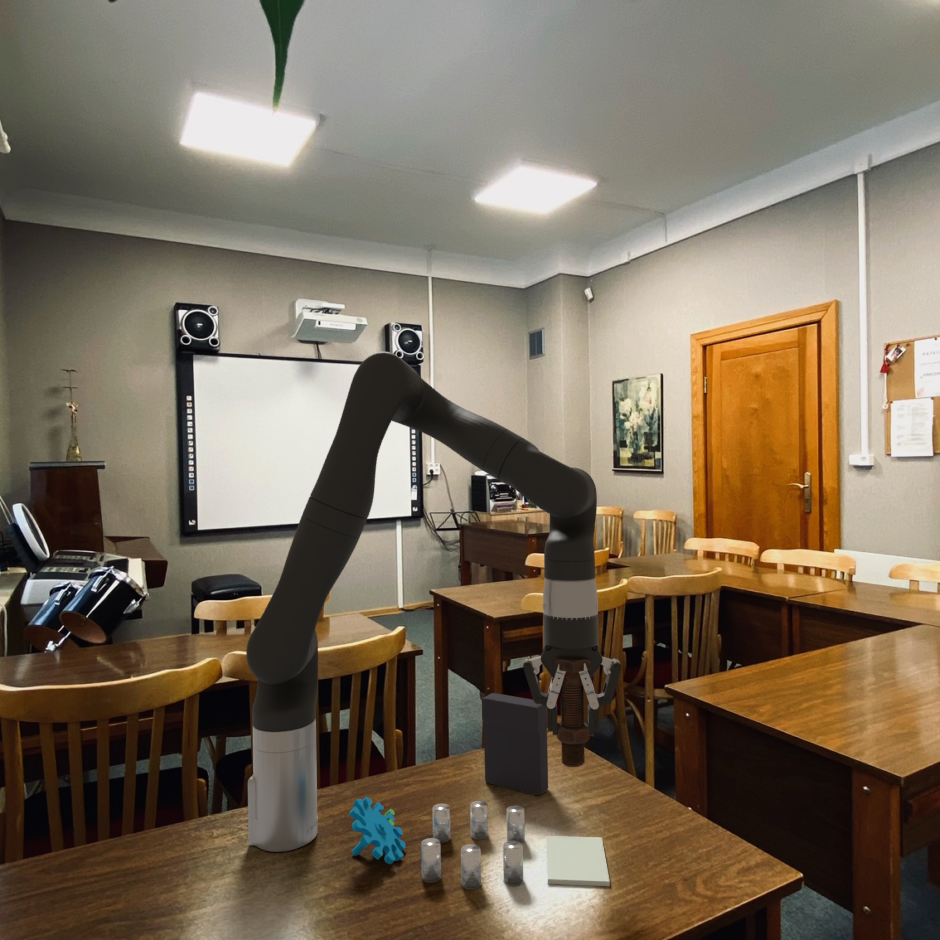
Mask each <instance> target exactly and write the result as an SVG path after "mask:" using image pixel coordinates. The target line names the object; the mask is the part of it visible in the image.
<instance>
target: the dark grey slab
mask: <svg viewBox="0 0 940 940" xmlns="http://www.w3.org/2000/svg"><path fill="white" fill-rule="evenodd" d="M481 720H482V722H483V733H484V735H483V737H484V738H483V740H484V743H483V744H484V745H483V747H484V748H483V749H484V781H485V783H487V784H491V785H494V786H497V787H502V788H505V789H510V790H514V791H518V792H522V793H525V794H530V795H533V794H534V796H537V795H538V796H537V797H541V796H542V795H543V794H544V793H545V792H546V791H548V789H549V763H548V762H549V761H548V759H549V758H548V757H549V756H548V755H549V753H548V751H549V750H548V728H547V708H546V706H544V705H542V704H536V703H535V702H534V700H533V699H532V698H531V699H530V698H525V697H519V696H515V695H514V696H512V695H509V694H503V693H502V694H501V693H496V692H492V693H490V694H488V695H486V696H484V697H483V698H481Z"/></svg>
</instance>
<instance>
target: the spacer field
mask: <svg viewBox="0 0 940 940" xmlns="http://www.w3.org/2000/svg"><path fill="white" fill-rule="evenodd" d="M488 808H489V807H488V803H487V802H486V801H483V800H474V801H472V802H471V803H470V804H469V819H470V820H469V821H470V823H469V824H470V837H471V838H472V839H473V840H476V841H477V840H478V841H479V840H485V839H487V838H488V837H489V825H488V824H489V822H488V821H489V820H488V819H489V817H488V816H489V813H488V811H489V810H488ZM525 826H526V825H525V808H524V807H523V806H520V805H510V806H508V807H506V841H505V842H504V843H503V844H502V855H503V856H502V858H503V859H502V860H503V866H502V867H503V868H502V869H503V882H504V884H506V885H507V886H511V887H517V886H520V885H522V884H523V883H524V857H523V856H524V851H523V850H524V849H523V848H524V846H523V844H525V842H526V837H525V835H526V834H525V833H526V832H525V831H526V830H525ZM450 840H451V807H450V805H449V804H447V803H437V804H434V805H433V806H432V837H430V838H429V837H428V838H425V839H423V840H422V841H421V842H420V855H421V856H420V857H421V858H420V859H421V861H420V863H421V880H422V881H423V882H425V883H428V884H429V883H430V884H432V883H437V882H438V881H440V880H441V879H442V867H441V866H442V862H441V861H442V858H441V856H442V855H441V852H442V851H441V844H443V843H446V842H449V841H450ZM481 855H482V852H481V847H480V845H478V844H473V843H469V844H464V845H463V846H461V848H460V876H461V877H460V878H461V879H460V880H461V881H460V882H461V886H462V888H463V889H465V890H469V891H470V890H471V891H473V890H477V889H479V888H480V887H481V886H482V865H481V863H482V862H481V861H482V858H481Z"/></svg>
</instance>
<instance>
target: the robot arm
mask: <svg viewBox="0 0 940 940" xmlns="http://www.w3.org/2000/svg"><path fill="white" fill-rule="evenodd" d="M347 393H348V394H347V397H346V399H345V403H344V406H343V410H342V413H341V417H340V420H339V422H338V423H339V424H338V425H337V429H336V433H335V436H334V437H333V440H332V443H331V444H330V448H329V450H328V452H327V455H326V457H325V459H324V462H323V464H322V467H321V470H320V472H319V475H318V477H317V479H316V482H315V484H314V486H313V489H312V490H311V492H310V495H309V497H308V499H307V501H306V504H305V507H304V510H303V512H302V515H301V517H300V519H299V521H298V525H297V528H296V531H295V533H294V536H293V539H292V542H291V544H290V547H289V550H288V553H287V556H286V560H285V563H284V566H283V568H282V572H281V575H280V578H279V580H278V583H277V585H276V587H275V589H274V591H273V594H272V595H271V597H270V599H269V601H268V603H267V604H266V605H267V606H266V607H265V609H264V610H263V613H262V614H261V616H260V618H259V620H258V622H257V623H256V626H255V627H254V629H253V631H252V632H251V634H250V636H249V639H248V641H247V645H246V651H245V652H246V654H245V655H246V662H247V665H248V668H249V670H250V672H251V673H252V674H253V676H254V677H255V678H256V679H257V688H256V693H255V697H254V701H253V704H252V712H251V713H252V714H251V715H252V717H251V719H252V722H251V723H252V760H253V761H252V766H253V767H252V771H253V773H252V775H251V776H250V777H249V778H248V780H247V815H248V816H247V817H248V818H247V819H248V820H247V822H248V824H247V826H248V831H247V832H248V846H255V847H257V848H259V849H260V850H263V851H266V852H276V853H277V852H278V853H279V852H288V851H292V850H296V849H298V848H301V847H304V846H306V845H307V844H309V843H310V842H312V841H313V840H314V839H315V838H316V837H317V834H318V822H319V821H318V820H319V819H318V786H317V784H318V783H317V782H318V781H317V780H318V778H317V777H318V776H317V774H318V772H317V771H318V770H317V769H318V768H317V725H316V724H317V721H316V714H317V713H316V710H317V709H316V708H317V702H318V700H317V699H318V693H319V639H318V634H317V630H316V627H317V624H318V621H319V618H320V615H321V613H322V610H323V607H324V604H325V603H326V600H327V597H328V596H329V593H330V592H331V591H332V589H333V588H334V585H335V584H336V582H337V581H338V579H339V578H340V576H341V574H342V573H343V571H344V569H345V568H346V565H347V563H348V562H349V560H350V558H351V557H352V554H353V553H354V550H355V548H357V547H356V546H357V544H358V543H359V540H360V538H361V535H362V533H363V532H364V531H363V530H364V528H365V525H366V523H367V520H368V518H369V517H370V513H371V509H372V506H373V502H374V497H375V495H374V494H375V486H376V473H377V471H376V470H377V463H378V462H377V461H378V456H379V453H380V449H381V445H382V443H383V440H384V438H385V436H386V434H387V431H388V430H389V427H390V425H391V423H392V422H394V423H396V424H399V425H403V426H405V427H407V428H410V429H413V430H416V431H418V432H420V433H422V434H425V435H427V436H429V437H431V438H433V439H434V440H436V441H438V442H440V443H441V444H443V445H445V446H446V447H447V448H449V449H450V450H452V451H453V452H455V453H456V454H457V455H458V456H460V457H461V458H463V459H464V460H466V461H467V462H468V463H470V464H471V465H473V466H475V467H476V468H477V469H480V470H481V471H483V472H484V473H486V474H488V475H489V476H491V477H492V478H494V479H496V480H497V481H500V482H501V483H502V484H505V485H507V486H509V487H510V488H513V489H514V490H515V491H517V492H518V493H519V495H521V496H522V497H523V498H525V499H526V500H528V501H529V502H530V503H531V504H533V505H534V506H536V507H538V508H539V509H540V510H542V511H544V512H545V513H547V514H549V534H548V536H547V539H546V541H545V542H544V544H545V545H544V552H543V555H544V556H543V566H544V569H543V570H544V571H543V572H544V583H543V592H542V600H543V601H542V611H543V614H542V615H543V616H542V617H543V649H542V650H541V653H540V655H539V656H536V657H532V658H530V657H525V658H524V659H523V662H522V668H523V671H524V674H525V678H526V681H527V684H528V687H529V690H530V691H529V692H530V694H531V696H532V700H534V702H535V703H536V704H542V705H544V706H546V708H547V731H549V732H552V736H557V735H558V727H557V723H558V705H557V700H558V697H559V695H560V693H561V692H560V691H561V690H560V689H561V686H562V685H564V684H563V679H564V675H565V673H566V671H560V670H559V665H558V668H557V670H554V659H555V658H588V659H589V660H591V670H587V667H586V664H585V663H584V671H581V672H579V674H580V677H581V684H580V685H583V688H584V689H583V690H584V692H585V696H586V698H587V701H588V704H587V724H588V727H589V735H590V737H595V733H596V732H597V733H598V732H599V729H600V714H599V713H600V711H599V710H600V708H601V707H604V706H606V705H607V706H609V705H611V704H612V702H613V699H614V696H615V692H616V689H617V686H618V681H619V678H620V674H621V670H622V665H621V662H620V660H619V659H618V658H617V657H613V658H612V659H611V658H608V657H605V656H603V655H602V653H601V651H600V648H599V613H598V612H599V603H598V590H597V583H596V558H595V556H596V555H595V545H594V544H595V542H594V541H595V530H596V522H597V509H598V508H597V506H598V505H597V504H598V503H597V502H598V501H597V500H598V497H597V495H598V494H597V492H598V491H597V486H596V484H595V481H594V479H593V477H592V476H591V475H590V474H589V473H588V472H587V471H585V470H583V469H581V468H578V467H571V466H569V465H567V464H564V463H562V462H561V461H559V460H557V459H555V458H553V457H551V456H550V455H547V453H544V452H543V451H540V449H539V448H538V447H537V446H536V445H535V444H533V442H530V441H529V440H528V439H526V438H524V437H522V436H520V435H519V434H517V433H515V432H514V431H511V430H510V429H509V428H507V427H504V426H502V425H501V424H500V423H499V424H498V423H497V422H495V421H493V420H491V419H489V418H486V417H483V416H481V415H479V414H477V413H475V412H472V411H470V410H468V409H466V408H463V407H462V406H460V405H458V404H456V403H454V402H453V401H451V400H450V399H448V398H447V397H445V396H444V395H442V394H441V393H440V392H438V391H437V390H436V389H435V388H434V387H432V386H431V384H429V383H428V382H427V381H425V380H424V379H423V378H422V377H421V376H420V374H419V373H418V372H417V371H416V369H414V368H413V367H412V366H410V365H409V364H408V363H407V362H406V361H405V360H403V359H402V358H401V357H400V356H398V355H396V354H394V353H392V352H389V351H379V352H378V351H377V352H375V353H373V354H371V355H369V356H368V357H367V358H365V359H364V360H363V361H362V362H361V363H360V365H358V367H357V369H356V371H355V373H354V375H353V377H352V380H351V383H350V386H349V390H348V392H347ZM541 665H543V666H544V668H545V670H546V671H547V672H548V674H550V676H551V680H550V683H549V687H548V691H547V693H545V692H543V691H542V689H541V686H540V682H539V679H538V676H537V675H538V674H539V673H540V667H541ZM601 665H602V666H603V672H604V674H605V675H606V677H605V680H604V684H603V688H602V691H601V693H598V694H597V693H596V691H595V688H594V685H593V681H592V678H593V676H594V675H595V674H596V672H597V671H598V670H599V668H600V667H601Z"/></svg>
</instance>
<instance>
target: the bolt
mask: <svg viewBox="0 0 940 940" xmlns="http://www.w3.org/2000/svg"><path fill="white" fill-rule="evenodd" d="M584 663H585V664H586V667H587V670H591V660H589V659H588V658H555V659H554V670H557V668H558V665H559V670H560V671H566V673H565V675H564V679H563V684H564V685H562V686H561V689H560V692H559V693H560V720H559V722H558V721H557V727H558V735H556V738H557V740H558V741H559V742H560V743H561V752H560V753H561V763H562V764H563V766H565V767H567V768H579V767H581V766H583V765H584V763H585V762H586V761H585V760H586V759H585V758H586V757H585V754H586V753H585V743H586V742H588V741H589V740H590V737H591V736H590V735H589V727H588V722H585V712H584V711H585V710H584V709H585V707H584V706H585V704H584V703H585V702H584V701H585V700H584V690H585V689H584V686H583V685H580V684H581V677H580V674H579V672H581V671H584Z"/></svg>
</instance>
